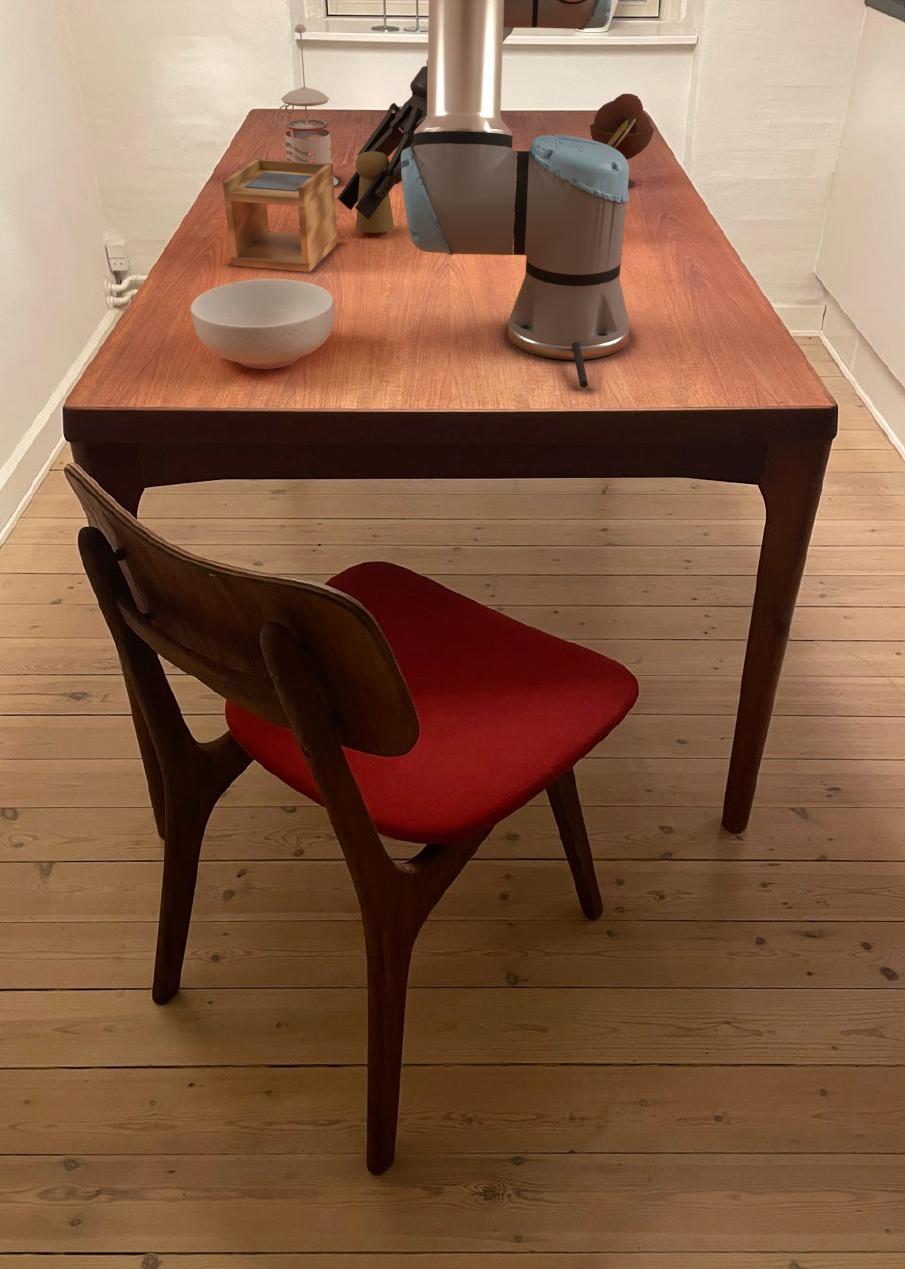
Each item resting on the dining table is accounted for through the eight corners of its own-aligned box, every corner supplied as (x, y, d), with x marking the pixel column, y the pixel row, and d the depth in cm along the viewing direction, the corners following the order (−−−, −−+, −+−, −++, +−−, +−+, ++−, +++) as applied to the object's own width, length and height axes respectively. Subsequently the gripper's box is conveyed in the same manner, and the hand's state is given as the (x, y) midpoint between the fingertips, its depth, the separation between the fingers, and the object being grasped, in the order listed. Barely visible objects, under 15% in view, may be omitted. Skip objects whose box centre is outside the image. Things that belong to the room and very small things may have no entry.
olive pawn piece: (350, 230, 174) (347, 156, 167) (362, 219, 178) (359, 146, 172) (387, 233, 173) (385, 158, 166) (398, 222, 177) (396, 149, 171)
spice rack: (309, 272, 161) (303, 187, 154) (231, 265, 164) (222, 181, 156) (337, 244, 172) (332, 163, 164) (263, 238, 174) (256, 158, 167)
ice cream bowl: (656, 181, 200) (666, 90, 191) (630, 196, 193) (639, 102, 184) (603, 172, 205) (611, 83, 196) (575, 186, 197) (582, 94, 188)
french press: (312, 193, 193) (301, 31, 178) (264, 181, 199) (249, 23, 184) (349, 180, 200) (342, 23, 185) (302, 170, 205) (291, 16, 190)
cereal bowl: (339, 329, 144) (336, 275, 140) (334, 384, 131) (330, 325, 127) (207, 331, 143) (200, 276, 139) (188, 386, 130) (180, 327, 126)
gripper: (490, 109, 166) (397, 239, 168) (428, 88, 178) (342, 209, 181) (460, 73, 160) (364, 208, 163) (398, 54, 173) (310, 179, 175)
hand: (353, 208), depth 172 cm, fingers closed on olive pawn piece, 5 cm apart
